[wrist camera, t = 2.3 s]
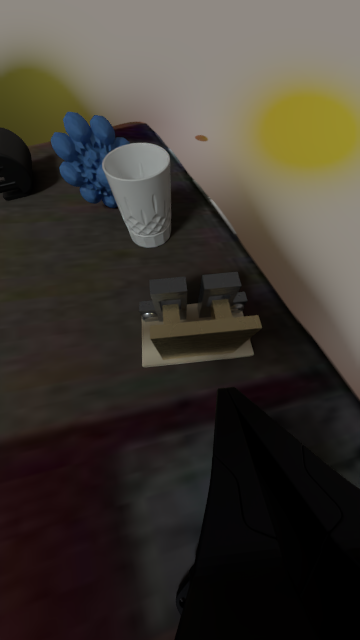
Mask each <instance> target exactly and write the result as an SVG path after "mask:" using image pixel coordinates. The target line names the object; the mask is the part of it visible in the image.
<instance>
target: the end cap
mask: <svg viewBox="0 0 360 640" xmlns="http://www.w3.org/2000/svg"><path fill="white" fill-rule="evenodd" d="M0 177H4V180H1V181H0V193H3V198H4V199H5V200H7V201H9V200H13V199H18V198H22V197H26V196H28V195H30V193H31V191H32V187H33V176H32V160H31V154H30V151H29V149H28V147H27V145H26V144H25V143H24V142H23V140H22V139H21V138H20V137H19V136H17V135H16V134H14V133H13V132H11V131H10V130H7V129H5V128H0Z"/></svg>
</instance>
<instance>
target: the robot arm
mask: <svg viewBox="0 0 360 640" xmlns="http://www.w3.org/2000/svg"><path fill="white" fill-rule="evenodd" d="M182 597H184V598H185V601H184V602H181V600H180V598H182ZM176 606H177V609H178V611H179V613H180V614H181V618H180V622H179V626H178V629H177V633H176V636H175V640H360V489H359V488H357V487H356V486H354V485H353V484H352V483H350V482H349V481H348V480H346V479H345V478H344V477H343V476H341V475H340V474H339V473H337V472H336V471H335V470H333V469H332V468H331V467H329V466H328V465H327V464H326V463H325V462H323V461H322V460H321V459H320V458H318V457H317V456H316V455H315V454H313V453H312V452H311V451H310V450H309V449H308V448H306V447H305V446H304V445H303V446H302V444H301V443H300V442H299V441H298V440H297V439H296V438H294V437H293V436H292V435H291V434H290V433H288V432H287V431H286V430H285V429H284V428H283V427H281V426H280V425H279V424H278V423H277V422H275V421H274V420H273V419H272V418H271V417H269V416H268V415H267V414H266V413H265V412H264V411H262V410H261V409H260V408H259V407H258V406H256V405H255V404H254V403H253V402H252V401H251V400H249V399H248V398H247V397H246V396H245V395H243V394H242V393H241V392H240V391H239V390H237V389H236V388H235V387H228V388H219V389H217V402H216V416H215V430H214V444H213V457H212V469H211V479H210V486H209V492H208V498H207V504H206V509H205V514H204V519H203V524H202V529H201V534H200V539H199V544H198V549H197V554H196V559H195V564H194V565H193V567H192V568H191V569H190V573H189V576H188V578H187V579H186V580H185V582H184V583H183V584H182V585H181V587H180V588H179V589H178V591H177V595H176Z"/></svg>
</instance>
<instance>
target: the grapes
mask: <svg viewBox="0 0 360 640" xmlns="http://www.w3.org/2000/svg"><path fill="white" fill-rule="evenodd" d="M63 121H64V126H65V129H66V132H67V133H68V135H69V136H70V137H69V136H68V135H66V134H65V133H59V132H55V133H54V135H53V136H52V138H51V143H52V147H53V149H54V151H55V152H56V153H57V155H58V156H59V157H61V158H62V159H64V160H65V161H66V162H62V164H61V165H60V167H59V169H60V173H61V175H62V177H63V178H64V180H65V181H66V182H68V183H69V184H71V185H73V186H76V187H79V186H80V192H81V195H82V196H83V198H84V199H85V200H87V201H88V202H90V203H98V202H100V200H101V198H102V201H103V203H104V204H105V205H106V206H108V207H110V208H116V207H118V206H117V203H116V201H115V198H114V196H113V193H112V191H111V188H110V186H109V183H108V181H107V178H106V176H105V173H104V171H103V168H102V162H103V159H104V158H105V156H106V155H107V154H108V153H109V152H111V151H112V150H114V149H116V148H118V147H120V146H123V145H127V144H130V143H129V142H128V141H127V140H126V139H125V138H120V137H117V138H116V139H115V133H114V129H113V127H112V126H111V124H110V123H109V121H108V120H107V119H106V118H104V117H103V116H98V115H94V116H93V118H92V119H91V121H90V126H91V128H90V126H89V125H88V123H87V121H86V120H85V119H84V118H83V117H82V116H80V115H79V114H78V113H73V112H67V114H66V115H65V117H64V119H63Z"/></svg>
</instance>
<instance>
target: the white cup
mask: <svg viewBox="0 0 360 640" xmlns="http://www.w3.org/2000/svg"><path fill="white" fill-rule="evenodd" d="M102 168H103V171H104V173H105V176H106V178H107V181H108V183H109V186H110V188H111V191H112V193H113V196H114V198H115V201H116V203H117V206H118V208H119V210H120V212H121V215H122V217H123V220H124V222H125V224H126V225H127V228H128V230H129V233H130V235H131V238H132V240H133V241H134V242H135V243H136V244H137V245H139V246H142V247H145V248H151V247H157V246H159V245H162V244H164V243H165V242H166V241H167V240H168V239H169V237H170V233H171V181H170V157H169V154H168V153H167V151H166V150H165V149H163V148H162V147H160V146H157V145H154V144H149V143H132V144H127V145H123V146H120V147H118V148H116V149H114V150H112V151H111V152H109V153H108V154H107V155H106V156H105V158H104V159H103V162H102Z"/></svg>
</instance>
